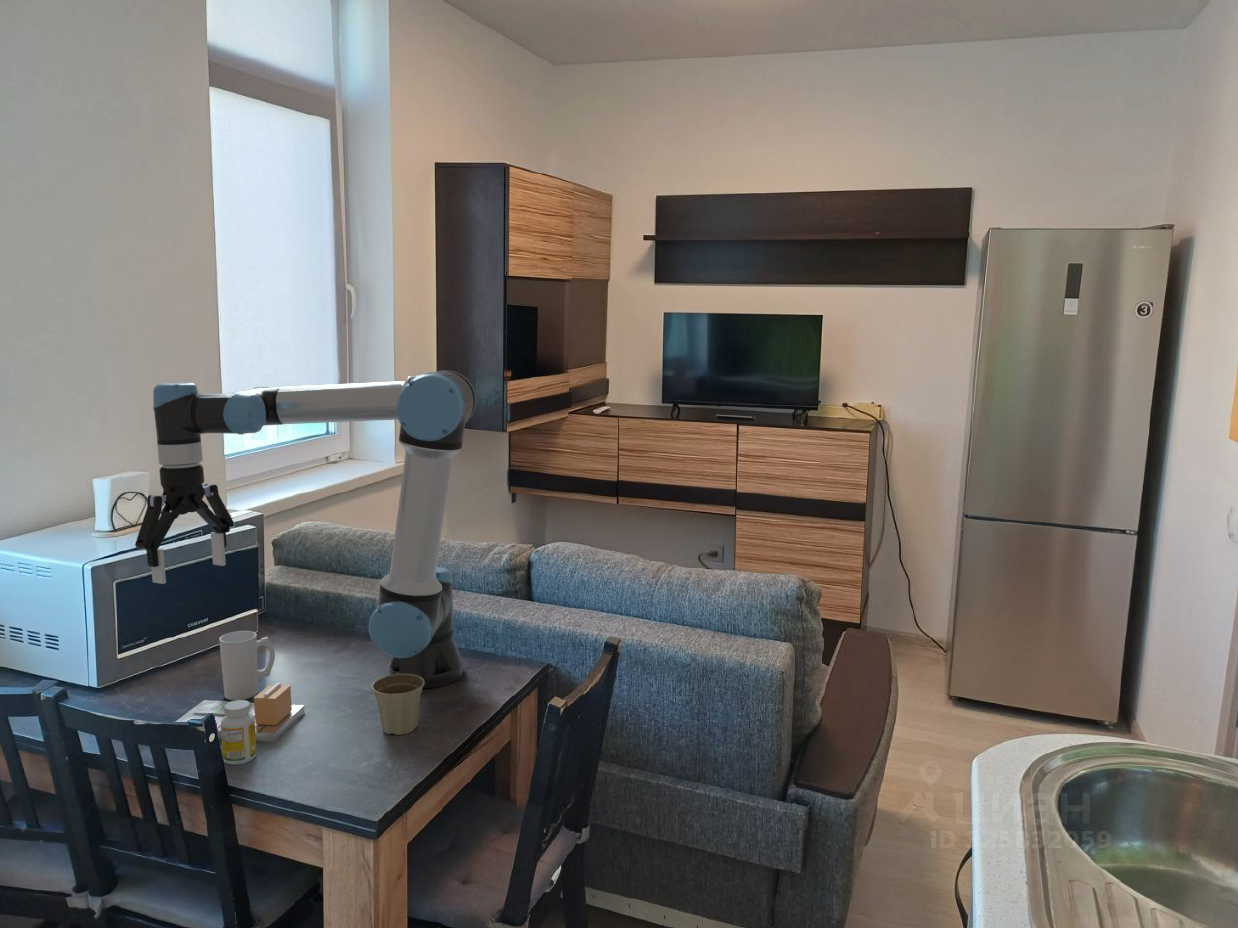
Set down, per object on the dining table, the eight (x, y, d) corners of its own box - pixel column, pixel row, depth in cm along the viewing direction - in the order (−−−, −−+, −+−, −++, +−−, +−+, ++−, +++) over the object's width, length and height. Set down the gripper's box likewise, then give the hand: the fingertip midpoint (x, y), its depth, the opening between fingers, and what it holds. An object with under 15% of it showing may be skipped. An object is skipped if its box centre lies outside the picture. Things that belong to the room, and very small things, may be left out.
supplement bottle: (232, 768, 152) (229, 714, 150) (217, 758, 155) (213, 705, 154) (263, 757, 156) (259, 703, 154) (247, 747, 159) (243, 695, 158)
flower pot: (399, 744, 161) (397, 698, 159) (361, 731, 166) (360, 686, 164) (436, 724, 168) (435, 680, 167) (399, 712, 173) (398, 669, 172)
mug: (225, 703, 177) (221, 644, 175) (220, 691, 183) (216, 634, 181) (280, 693, 182) (276, 635, 180) (273, 681, 188) (270, 625, 186)
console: (304, 713, 173) (304, 704, 173) (274, 742, 161) (273, 733, 161) (204, 707, 175) (204, 699, 175) (167, 736, 163) (166, 727, 163)
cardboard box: (291, 710, 170) (290, 682, 169) (276, 724, 164) (274, 695, 163) (271, 709, 170) (269, 681, 169) (255, 723, 164) (253, 694, 163)
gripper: (221, 454, 185) (229, 556, 189) (106, 473, 163) (117, 588, 167) (247, 456, 182) (255, 559, 186) (134, 476, 160) (145, 593, 163)
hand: (190, 573), depth 176 cm, fingers open, 13 cm apart
